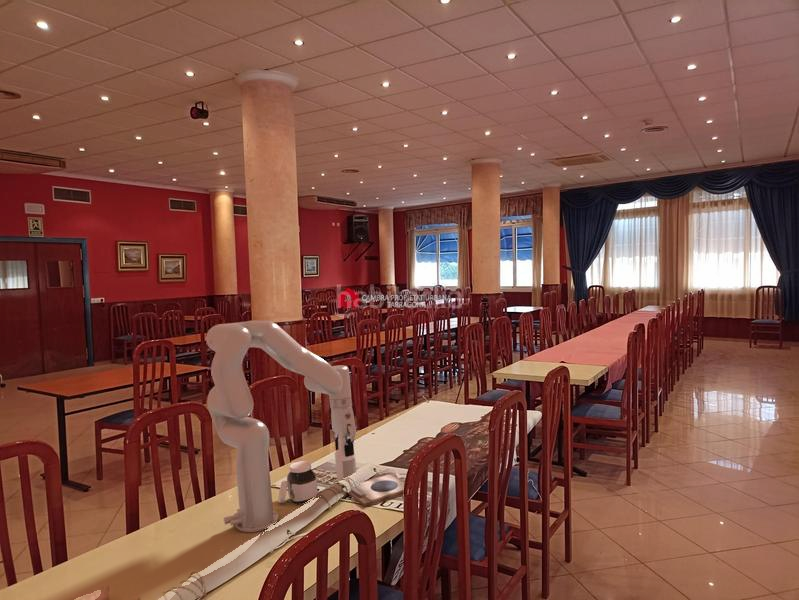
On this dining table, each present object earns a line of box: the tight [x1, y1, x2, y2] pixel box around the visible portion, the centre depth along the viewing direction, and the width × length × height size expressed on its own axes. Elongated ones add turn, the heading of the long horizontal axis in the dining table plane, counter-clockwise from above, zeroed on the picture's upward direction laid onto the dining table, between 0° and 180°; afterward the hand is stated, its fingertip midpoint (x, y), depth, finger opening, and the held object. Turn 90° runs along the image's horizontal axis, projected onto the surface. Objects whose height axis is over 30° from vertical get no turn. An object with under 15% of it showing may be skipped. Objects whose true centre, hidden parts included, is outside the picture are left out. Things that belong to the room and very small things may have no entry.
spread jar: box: [277, 460, 318, 505], centre depth 176 cm, size 12×11×12 cm
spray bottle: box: [334, 433, 357, 482], centre depth 187 cm, size 7×7×18 cm
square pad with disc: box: [348, 472, 404, 508], centre depth 179 cm, size 18×16×2 cm
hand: (344, 452), depth 187 cm, fingers closed on spray bottle, 6 cm apart
